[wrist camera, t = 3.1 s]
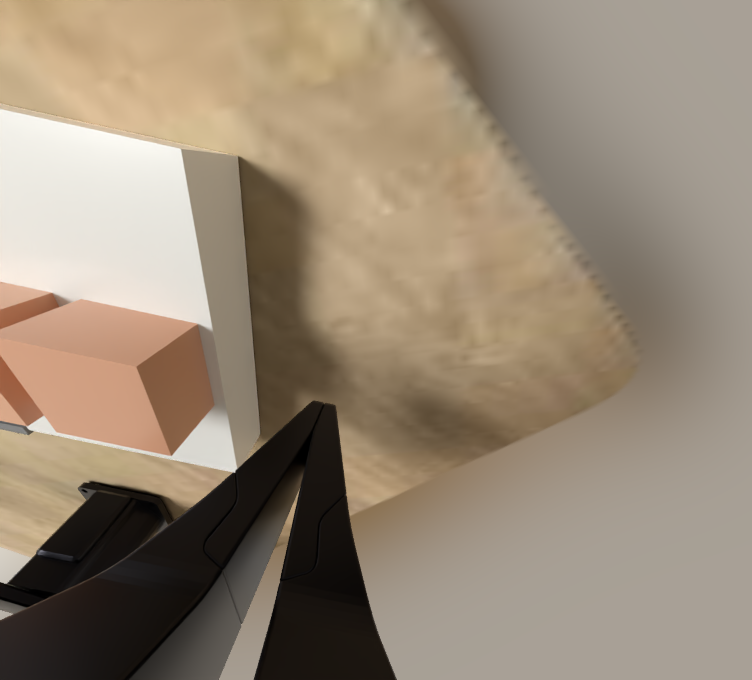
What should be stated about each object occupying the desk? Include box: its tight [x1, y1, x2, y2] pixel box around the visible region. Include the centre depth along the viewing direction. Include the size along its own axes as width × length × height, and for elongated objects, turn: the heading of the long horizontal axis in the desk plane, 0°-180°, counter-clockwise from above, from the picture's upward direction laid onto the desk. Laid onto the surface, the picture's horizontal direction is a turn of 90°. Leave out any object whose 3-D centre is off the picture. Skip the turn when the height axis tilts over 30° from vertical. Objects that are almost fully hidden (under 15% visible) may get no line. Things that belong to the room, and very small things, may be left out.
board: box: [0, 103, 260, 473], centre depth 11 cm, size 14×11×2 cm
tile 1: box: [0, 299, 215, 456], centre depth 9 cm, size 4×4×2 cm
